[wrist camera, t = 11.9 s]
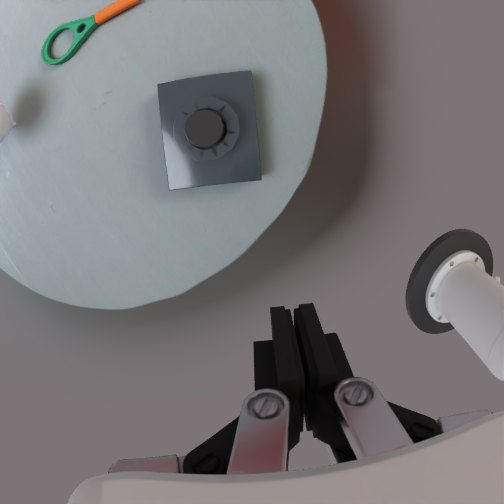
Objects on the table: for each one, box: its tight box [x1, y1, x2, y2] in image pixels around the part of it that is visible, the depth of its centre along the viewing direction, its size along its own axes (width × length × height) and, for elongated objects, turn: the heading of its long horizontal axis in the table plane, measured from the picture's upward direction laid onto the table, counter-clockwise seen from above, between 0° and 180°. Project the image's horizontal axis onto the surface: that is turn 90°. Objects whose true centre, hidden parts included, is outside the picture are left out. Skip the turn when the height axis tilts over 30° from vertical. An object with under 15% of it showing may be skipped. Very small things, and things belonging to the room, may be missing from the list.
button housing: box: [157, 71, 262, 190], centre depth 29 cm, size 10×12×5 cm
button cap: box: [184, 110, 224, 147], centre depth 26 cm, size 4×4×2 cm
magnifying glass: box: [41, 0, 140, 65], centre depth 25 cm, size 15×6×2 cm, turn 109°
